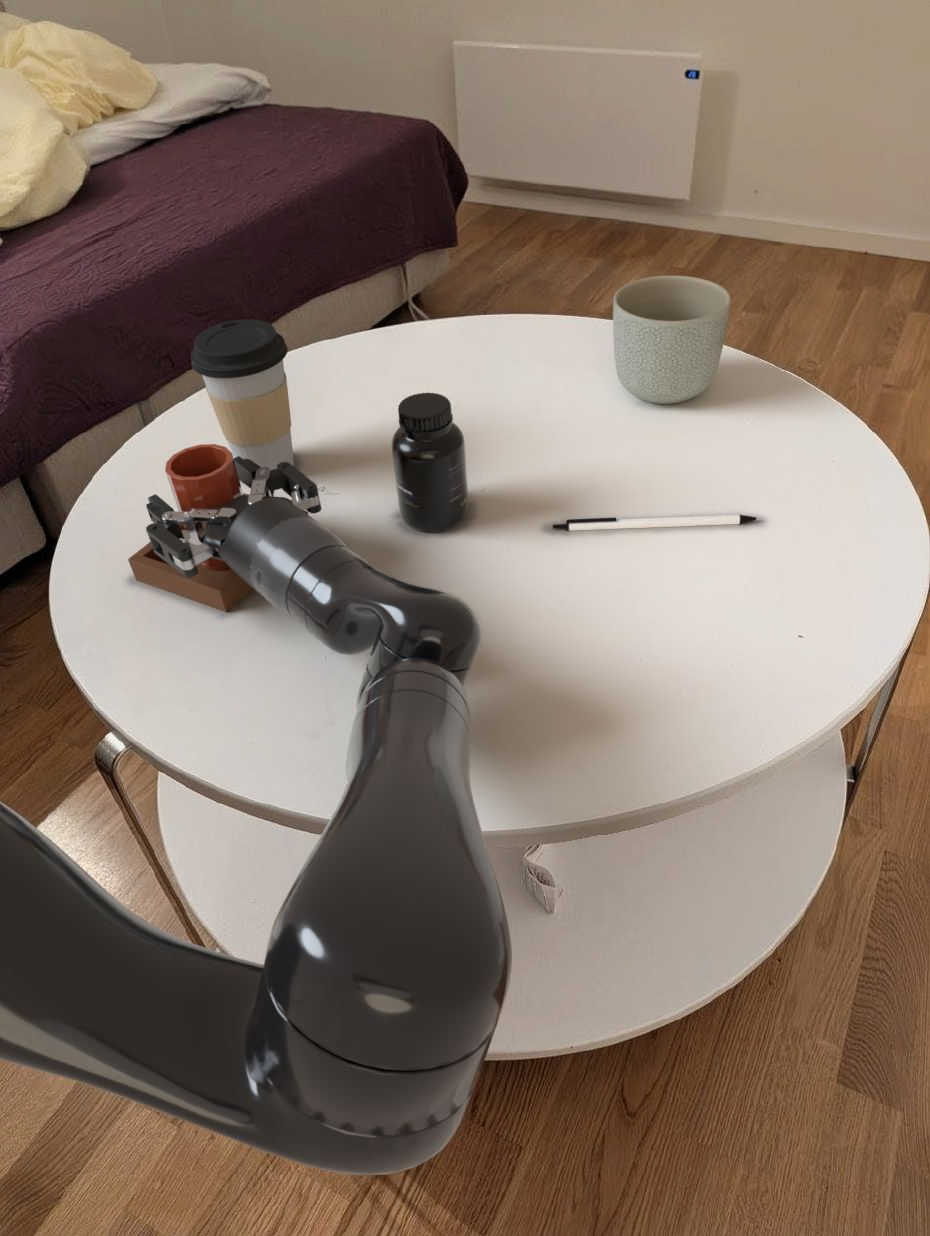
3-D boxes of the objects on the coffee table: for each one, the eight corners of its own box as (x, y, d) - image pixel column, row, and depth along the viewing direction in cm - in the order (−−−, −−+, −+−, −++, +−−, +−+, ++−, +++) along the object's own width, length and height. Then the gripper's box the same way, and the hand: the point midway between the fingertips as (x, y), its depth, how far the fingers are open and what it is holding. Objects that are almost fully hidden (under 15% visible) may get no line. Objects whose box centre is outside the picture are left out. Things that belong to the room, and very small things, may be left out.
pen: (552, 527, 88) (552, 518, 87) (756, 519, 87) (757, 509, 86) (553, 533, 87) (553, 523, 86) (758, 525, 86) (759, 515, 85)
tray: (226, 612, 81) (219, 591, 80) (135, 580, 86) (127, 559, 84) (312, 532, 90) (308, 511, 88) (225, 506, 94) (219, 486, 92)
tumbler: (230, 577, 84) (202, 485, 78) (182, 561, 87) (150, 470, 80) (269, 542, 88) (245, 452, 81) (221, 527, 90) (195, 438, 84)
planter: (587, 392, 107) (589, 301, 100) (655, 355, 113) (662, 266, 105) (673, 428, 99) (682, 332, 92) (741, 386, 105) (754, 293, 98)
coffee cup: (277, 436, 104) (247, 308, 94) (328, 465, 99) (303, 332, 89) (206, 471, 99) (167, 340, 89) (256, 504, 94) (220, 368, 84)
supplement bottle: (389, 527, 89) (372, 418, 81) (416, 489, 94) (403, 382, 86) (454, 539, 87) (444, 428, 79) (479, 500, 92) (472, 390, 84)
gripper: (227, 637, 74) (137, 551, 83) (369, 558, 80) (270, 487, 90) (203, 564, 69) (110, 481, 78) (357, 486, 75) (254, 418, 85)
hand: (196, 484), depth 84 cm, fingers open, 8 cm apart
